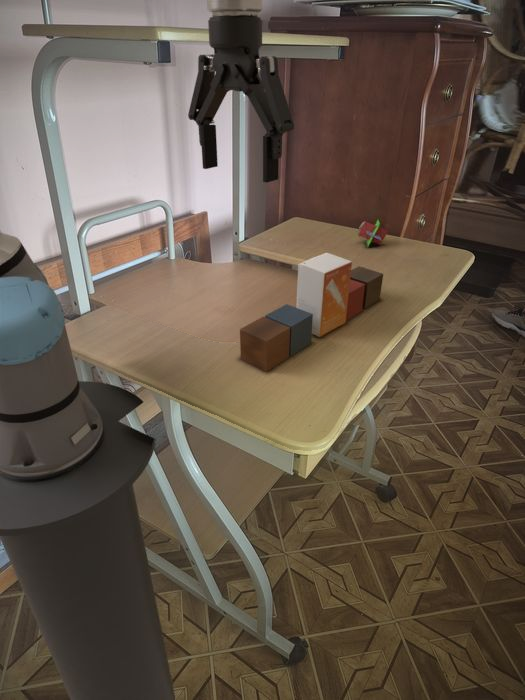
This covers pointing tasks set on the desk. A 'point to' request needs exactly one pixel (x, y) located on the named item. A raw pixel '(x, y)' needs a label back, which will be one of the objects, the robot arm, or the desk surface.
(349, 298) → the cube
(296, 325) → the cube
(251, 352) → the cube
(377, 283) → the cube
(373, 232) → the geometric puzzle
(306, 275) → the small box
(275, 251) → the desk surface
